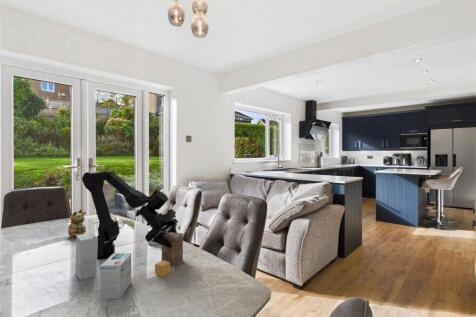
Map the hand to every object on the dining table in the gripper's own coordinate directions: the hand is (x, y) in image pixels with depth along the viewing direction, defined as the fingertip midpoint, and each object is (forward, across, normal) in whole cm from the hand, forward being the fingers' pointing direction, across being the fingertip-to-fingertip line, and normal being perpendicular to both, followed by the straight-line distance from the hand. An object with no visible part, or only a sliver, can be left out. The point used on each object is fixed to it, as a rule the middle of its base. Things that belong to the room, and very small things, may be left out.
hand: (175, 244), depth 109 cm
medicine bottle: (-10, +23, +21) cm, 33 cm away
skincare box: (-14, -17, +26) cm, 34 cm away
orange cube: (+5, -10, +6) cm, 13 cm away
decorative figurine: (-46, +23, +58) cm, 77 cm away
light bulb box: (0, -25, +12) cm, 28 cm away
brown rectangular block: (+5, 0, +7) cm, 8 cm away
